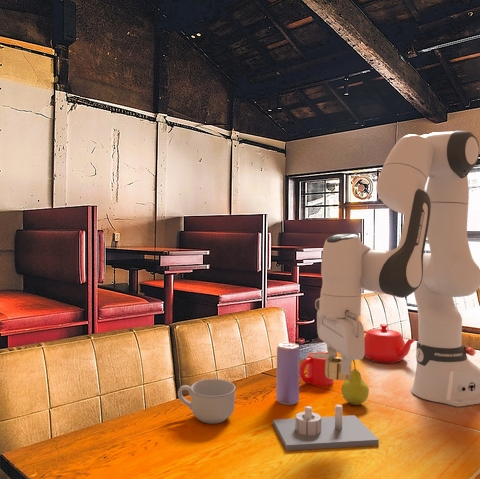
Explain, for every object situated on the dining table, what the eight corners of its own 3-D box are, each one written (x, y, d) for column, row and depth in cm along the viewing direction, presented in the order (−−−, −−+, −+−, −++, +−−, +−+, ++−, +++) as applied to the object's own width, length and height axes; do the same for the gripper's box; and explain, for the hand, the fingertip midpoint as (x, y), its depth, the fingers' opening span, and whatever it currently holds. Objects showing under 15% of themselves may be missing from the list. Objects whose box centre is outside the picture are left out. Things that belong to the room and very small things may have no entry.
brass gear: (345, 372, 108) (345, 356, 108) (354, 380, 103) (354, 363, 103) (322, 372, 108) (322, 357, 107) (330, 380, 102) (330, 364, 102)
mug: (291, 382, 140) (291, 356, 140) (320, 375, 147) (320, 350, 147) (309, 390, 134) (310, 362, 134) (339, 382, 141) (339, 356, 141)
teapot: (343, 354, 173) (344, 321, 172) (373, 348, 181) (373, 317, 181) (399, 372, 151) (400, 334, 151) (430, 365, 160) (431, 329, 159)
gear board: (354, 420, 113) (355, 394, 113) (378, 445, 100) (379, 416, 100) (273, 424, 110) (273, 398, 110) (286, 450, 97) (287, 421, 97)
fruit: (372, 409, 120) (372, 362, 120) (345, 409, 120) (346, 362, 120) (363, 399, 127) (363, 354, 127) (338, 399, 127) (338, 355, 126)
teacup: (241, 413, 117) (241, 381, 117) (225, 431, 107) (226, 396, 106) (190, 406, 121) (190, 375, 121) (170, 422, 111) (170, 388, 111)
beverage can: (298, 406, 122) (298, 348, 121) (274, 404, 123) (275, 347, 122) (299, 398, 127) (300, 343, 127) (277, 396, 129) (278, 341, 128)
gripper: (373, 315, 95) (371, 383, 95) (338, 300, 115) (336, 356, 116) (343, 315, 94) (341, 384, 95) (313, 299, 114) (311, 356, 115)
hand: (338, 368), depth 105 cm, fingers closed on brass gear, 5 cm apart
